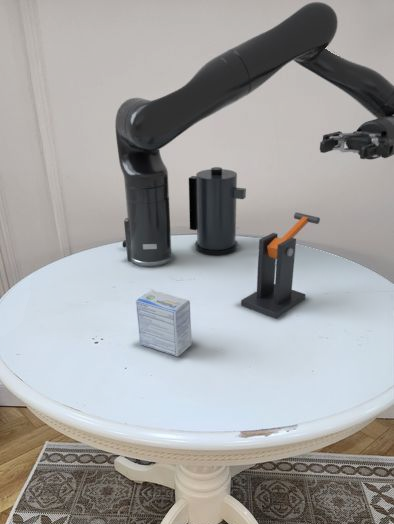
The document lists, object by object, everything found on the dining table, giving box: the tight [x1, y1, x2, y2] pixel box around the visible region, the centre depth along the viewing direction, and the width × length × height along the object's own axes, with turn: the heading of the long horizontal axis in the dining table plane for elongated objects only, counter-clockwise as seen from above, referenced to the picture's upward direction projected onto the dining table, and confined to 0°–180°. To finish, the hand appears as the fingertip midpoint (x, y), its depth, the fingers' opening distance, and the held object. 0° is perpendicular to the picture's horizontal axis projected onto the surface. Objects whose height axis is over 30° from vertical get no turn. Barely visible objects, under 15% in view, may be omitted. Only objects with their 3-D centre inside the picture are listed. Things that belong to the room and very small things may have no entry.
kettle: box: [188, 166, 247, 257], centre depth 122 cm, size 13×10×18 cm
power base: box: [240, 232, 306, 319], centre depth 99 cm, size 10×8×13 cm
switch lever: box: [267, 212, 321, 260], centre depth 98 cm, size 12×5×2 cm, turn 139°
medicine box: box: [135, 289, 193, 357], centre depth 87 cm, size 8×4×9 cm, turn 58°
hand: (341, 150), depth 101 cm, fingers open, 8 cm apart
